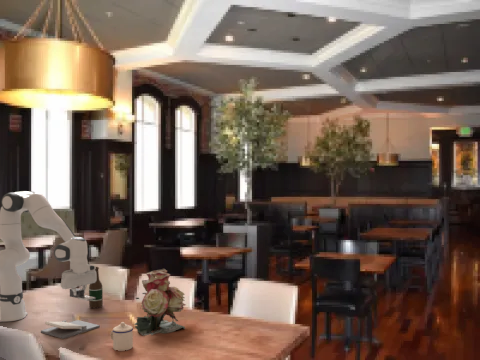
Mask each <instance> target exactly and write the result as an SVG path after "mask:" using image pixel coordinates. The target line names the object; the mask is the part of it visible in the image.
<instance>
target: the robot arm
mask: <svg viewBox="0 0 480 360" xmlns="http://www.w3.org/2000/svg"><path fill="white" fill-rule="evenodd" d="M23 212H25V213H28V212H29V214H30V215H31V217H32V219H33V221H34V222H35V224H37V226H39V227H40V228H43V229H49V230H52V231H55V232H57V234H59V235H60V237H61V239H62V240H63V241H64V242H62V243H59V244H57V245H56V246H55V247H54V249H53V256H54V258H55V259H56V261H58V262H61V263H62V262H63V263H64V262H69V269H68V270H64V271H63V272H62V273H61V280H60V288H61V289H62V290H67V289H69V290H70V289H72V291H73V292H74V295H75V296H76V295H78V292H77V291H76V290H75V289H76V288H77V287H81V286H82V288H81V289H83V290H84V294H86V290H87V288H88V285H90V284H91V283H95V282H96V280H97V274H96V271H95V269H96V267H97V266H96V265H94V264H90V263H89V262H88V251H89V250H88V243H87V240H86V238H84V237H81V236H76V235H75V233H74V232H73V231H72V230H71V228H70V227H69V225H68V224H67V223H66V222H65V220H63V218H61V217H60V216H59V215H58V213H56V212H55V210H54V209H53V207H52V205H51V203H50V202H49V201H48V200H47V198H46V197H45V196H44V195H43V194H42V193H41V192H35V191H32V190H29V191H27V190H21V191H15V192H13V191H12V192H7V193H6V194H4V195H3V196H2V198H1V207H0V240H1V241H2V242H3V244H4V247H5V249H1V250H0V323H2V322H4V323H5V322H14V321H19V320H22V319H24V318H25V317H26V316H28V312H27V311H26V303H25V300H24V299H23V298H24V293H23V279H22V276H20V275H19V273H18V270H17V267H20V266H22V265H24V264H25V263H27V262H28V261H29V260H30V257H31V255H30V251H29V250H28V248H26V245H24V241H23V237H22V220H21V218H22V214H23Z"/></svg>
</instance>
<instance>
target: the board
mask: <svg viewBox="0 0 480 360" xmlns="http://www.w3.org/2000/svg"><path fill="white" fill-rule="evenodd" d="M61 322H67V320H66V319H65V320H62V321H61ZM68 323H72V324H76V325H80V326H82V329H61V328H57V327H53V326H50V327H48V328H44V329H42V330H40V333H42V334H45V335H49V336H53V337H54V338H55V337H56V338H59V339H62V340H63V339H66V338H69V337H73V336H76V335H80V334H83V333H86V332H89V331H92V330H95V329H99V328H100V324H96V323H91V322H87V321H84V320H79V319H76V320H73V321H69V322H68Z"/></svg>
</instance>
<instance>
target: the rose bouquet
mask: <svg viewBox="0 0 480 360" xmlns="http://www.w3.org/2000/svg"><path fill="white" fill-rule="evenodd" d="M145 274H146V276H147V278H148V279H145V280H143V279H141V283H142V286H143V288H144V290H145V292H142V293H141V294H142V295H144V296H143V297H142V300H141V307H142V308H141V309H142V310H143V313H146V315H144V316H136V322H134V323H133V325H134V328H135V330H136V331H137V332H138V334H140V335H141V336H149V335H150V336H153V335H155V334H169V333H173V332H176V331H177V330H180V329H186V327H185V326H184V325H181V324H178V323H177V322H179V320H178V319H177V317H176V315H175V313H176V312H177V313H179V312H180V313H181V312H182V310H184V307H185V306H186V305H187V304H185V303H184V302H185V293H184V292H183V291H181V290H180V289H179V288H178V287H177V286H170V284H171V282H170V281H169V278H170V276H171V274H170V273H168V270H166V269H165V268H162V269H157V270H154V269H153V270H152V271H149V272H146V273H145ZM139 299H140V297H135V300H139ZM165 316H168V317H170V318H171V319H172V321H168V320H166V319H164V318H165ZM174 320H175V321H174ZM159 328H160V329H159Z"/></svg>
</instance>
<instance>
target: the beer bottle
mask: <svg viewBox="0 0 480 360" xmlns="http://www.w3.org/2000/svg"><path fill="white" fill-rule="evenodd" d="M99 269H100V268H99V267H98V266H96V269H95V271H96V274H97V280H96V282H95V283H91V284H88V285H89V287H88V296H91V297H96V299H93V300H89V301H88V303H89V304H88V305H89V308H90V307H91V308H90V309H98V308H97V307H100V308H102V307H103V303H104V301H103V297H104V295H103V284H102V282H101V280H100V274H99ZM101 306H102V307H101Z"/></svg>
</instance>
